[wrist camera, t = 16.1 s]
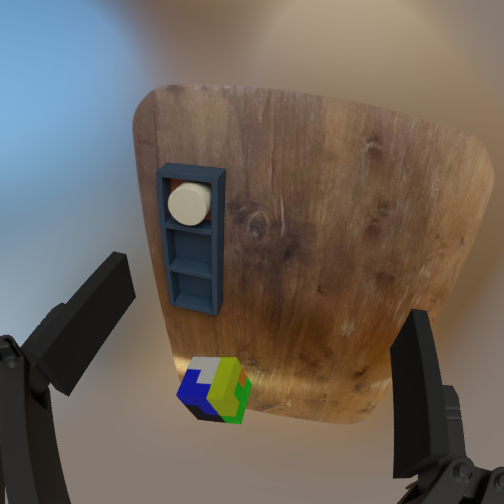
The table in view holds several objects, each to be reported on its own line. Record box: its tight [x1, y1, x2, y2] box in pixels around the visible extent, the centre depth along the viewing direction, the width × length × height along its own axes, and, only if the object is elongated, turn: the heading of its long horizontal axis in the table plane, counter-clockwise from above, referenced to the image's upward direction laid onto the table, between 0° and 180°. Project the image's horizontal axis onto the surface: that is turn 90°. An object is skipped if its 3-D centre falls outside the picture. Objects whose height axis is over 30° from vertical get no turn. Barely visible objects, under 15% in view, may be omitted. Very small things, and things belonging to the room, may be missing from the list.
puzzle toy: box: [177, 357, 252, 424], centre depth 58 cm, size 10×10×10 cm
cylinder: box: [168, 180, 212, 225], centre depth 38 cm, size 5×5×4 cm
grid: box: [156, 163, 226, 316], centre depth 43 cm, size 8×23×3 cm, turn 176°
